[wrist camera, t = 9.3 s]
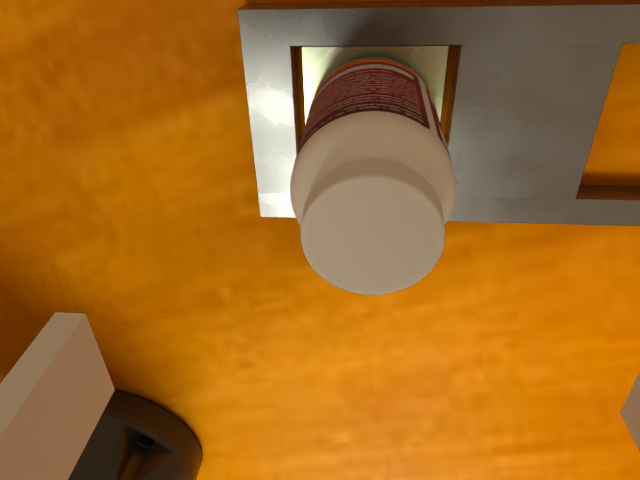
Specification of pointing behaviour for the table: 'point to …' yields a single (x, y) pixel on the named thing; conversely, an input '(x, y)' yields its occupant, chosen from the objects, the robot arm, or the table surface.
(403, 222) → the pill bottle
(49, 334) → the robot arm
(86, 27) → the table surface
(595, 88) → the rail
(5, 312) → the table surface
